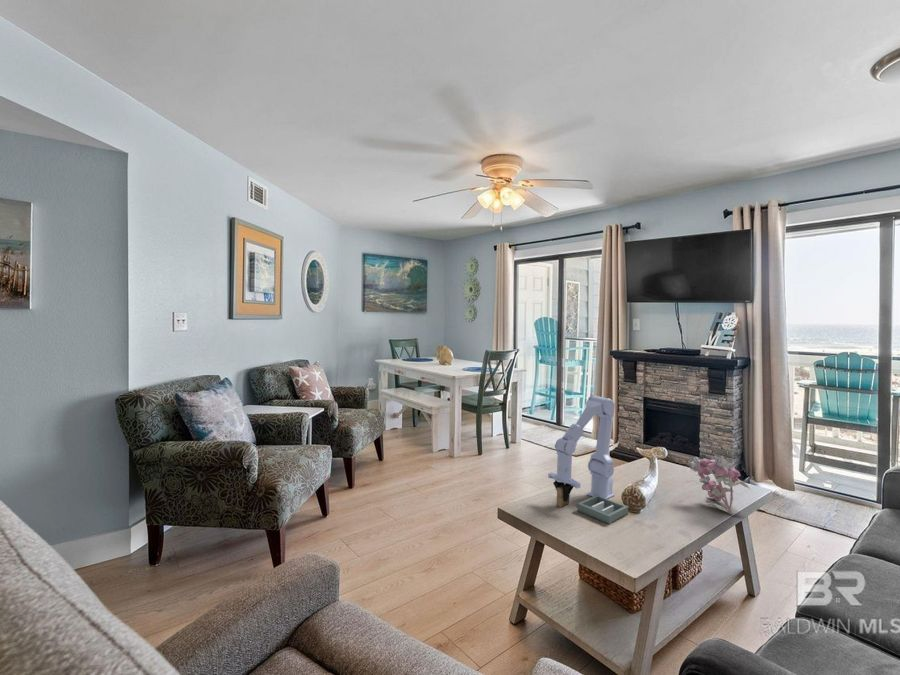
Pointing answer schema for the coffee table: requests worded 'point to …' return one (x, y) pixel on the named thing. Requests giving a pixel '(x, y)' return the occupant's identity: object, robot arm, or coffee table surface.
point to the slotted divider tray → (602, 509)
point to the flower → (717, 478)
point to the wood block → (561, 497)
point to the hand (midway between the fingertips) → (563, 499)
